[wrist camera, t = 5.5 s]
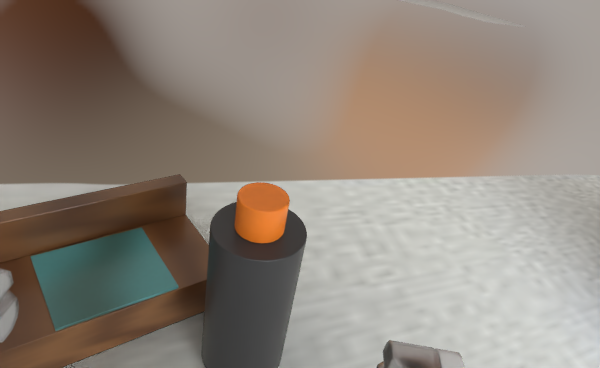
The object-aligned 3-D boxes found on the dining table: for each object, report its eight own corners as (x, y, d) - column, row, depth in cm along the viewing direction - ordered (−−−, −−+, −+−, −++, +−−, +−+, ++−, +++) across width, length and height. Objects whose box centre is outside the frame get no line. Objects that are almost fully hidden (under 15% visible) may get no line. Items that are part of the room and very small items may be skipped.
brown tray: (178, 236, 38) (180, 173, 34) (225, 303, 32) (232, 236, 29) (-29, 295, 30) (-52, 221, 26) (-10, 396, 25) (-35, 319, 21)
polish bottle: (255, 310, 32) (278, 162, 26) (296, 364, 29) (333, 211, 23) (188, 338, 30) (195, 180, 23) (225, 402, 26) (245, 239, 20)
